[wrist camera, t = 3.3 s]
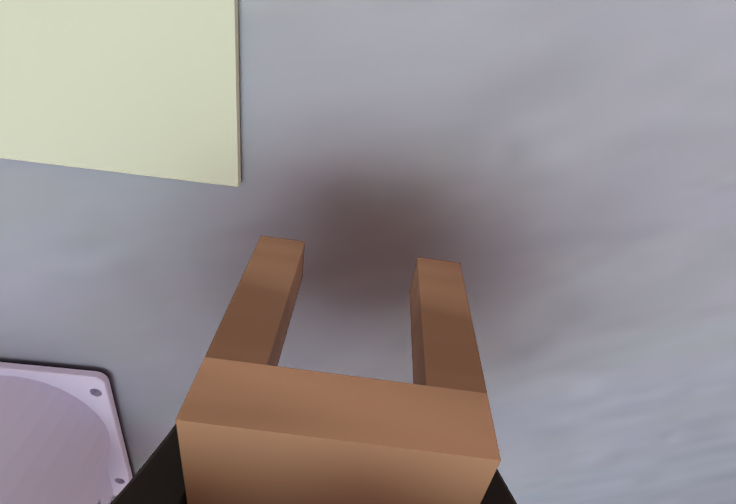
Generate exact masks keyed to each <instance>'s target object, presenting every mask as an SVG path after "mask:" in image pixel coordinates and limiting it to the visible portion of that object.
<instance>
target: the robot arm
mask: <svg viewBox="0 0 736 504" xmlns="http://www.w3.org/2000/svg"><path fill="white" fill-rule="evenodd" d="M113 495H115V496H116V498H115V499H114V500H113V501H112V502H111V503H110V500H111V498H112V496H113ZM109 503H110V504H187V497H186V490H185V483H184V476H183V469H182V462H181V455H180V448H179V440H178V433H177V426H176V424H175V426H174V427H173V428H172V430H171V431H170V432H169V434H168V435H167V436H166V438H165V439H164V440H163V441H162V443H161V444H160V445H159V446H158V448H157V449H156V450H155V451H154V453H153V454H152V455H151V456H150V458H149V459H148V460H147V461H146V463H145V464H144V465H143V466H142V468H141V469H140V470H139V471H138V472H137V474H136V475H135V476H134V477H132V473H131V469H130V464H129V460H128V456H127V452H126V448H125V444H124V440H123V436H122V432H121V428H120V423H119V419H118V415H117V411H116V407H115V403H114V399H113V395H112V391H111V386H110V382H109V379H108V377H107V376H106V375H105V374H103V373H101V372H98V371H89V370H79V369H68V368H58V367H48V366H37V365H27V364H16V363H6V362H0V504H109ZM480 504H517V503H516V501H515V500H514V498H513V496H512V494H511V493H510V491H509V489H508V487H507V485H506V484H505V482H504V480H503V478H502V477H501V475H500V473H499V471H498V469H496V472H495V474H494V476H493V478H492V480H491V482H490V484H489V486H488V488H487V490H486V493H485V495H484V497H483V499H482V501H481V503H480Z"/></svg>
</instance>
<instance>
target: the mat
mask: <svg viewBox="0 0 736 504" xmlns="http://www.w3.org/2000/svg"><path fill="white" fill-rule="evenodd" d="M0 158H5V159H13V160H21V161H30V162H38V163H46V164H54V165H62V166H71V167H79V168H87V169H95V170H103V171H112V172H120V173H128V174H136V175H144V176H153V177H161V178H169V179H177V180H185V181H193V182H202V183H210V184H218V185H226V186H234V187H238V186H239V185H240V183H241V154H240V95H239V36H238V0H0Z"/></svg>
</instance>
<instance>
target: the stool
mask: <svg viewBox="0 0 736 504" xmlns="http://www.w3.org/2000/svg"><path fill="white" fill-rule="evenodd" d="M304 246H305V242H304V241H297V240H289V239H282V238H275V237H268V236H261V237H260V239H259V241H258V243H257V246H256V248H255V250H254V252H253V254H252V256H251V259H250V261H249V263H248V265H247V267H246V269H245V271H244V274H243V276H242V278H241V280H240V282H239V284H238V287H237V289H236V291H235V293H234V295H233V297H232V299H231V302H230V304H229V306H228V308H227V310H226V312H225V315H224V317H223V319H222V321H221V323H220V325H219V327H218V330H217V332H216V334H215V336H214V338H213V340H212V343H211V345H210V347H209V349H208V351H207V353H206V356H205V358H204V360H203V362H202V364H201V366H200V368H199V371H198V373H197V375H196V377H195V379H194V381H193V384H192V386H191V388H190V390H189V392H188V394H187V396H186V399H185V401H184V403H183V405H182V407H181V409H180V412H179V414H178V416H177V418H176V426H177V433H178V440H179V448H180V455H181V462H182V469H183V476H184V483H185V490H186V497H187V504H480V503H481V501H482V499H483V497H484V495H485V493H486V490H487V488H488V486H489V484H490V482H491V480H492V478H493V476H494V474H495V472H496V469H497V467H498V465H499V463H500V461H501V459H500V454H499V449H498V444H497V439H496V434H495V430H494V425H493V420H492V415H491V410H490V405H489V400H488V396H487V391H486V386H485V381H484V376H483V371H482V366H481V362H480V357H479V352H478V347H477V342H476V337H475V332H474V328H473V323H472V318H471V313H470V308H469V303H468V298H467V294H466V289H465V284H464V279H463V274H462V269H461V264H460V263H457V262H450V261H443V260H435V259H428V258H421V257H417V261H416V265H415V270H414V274H413V278H412V283H411V287H410V313H411V337H412V360H413V384H410V383H402V382H394V381H387V380H379V379H371V378H363V377H356V376H348V375H340V374H332V373H324V372H317V371H309V370H301V369H293V368H286V367H278V366H277V365H278V362H279V358H280V355H281V351H282V348H283V344H284V340H285V337H286V333H287V330H288V326H289V323H290V319H291V316H292V312H293V308H294V305H295V301H296V298H297V294H298V291H299V287H300V284H301V280H302V275H303V261H304Z"/></svg>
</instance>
